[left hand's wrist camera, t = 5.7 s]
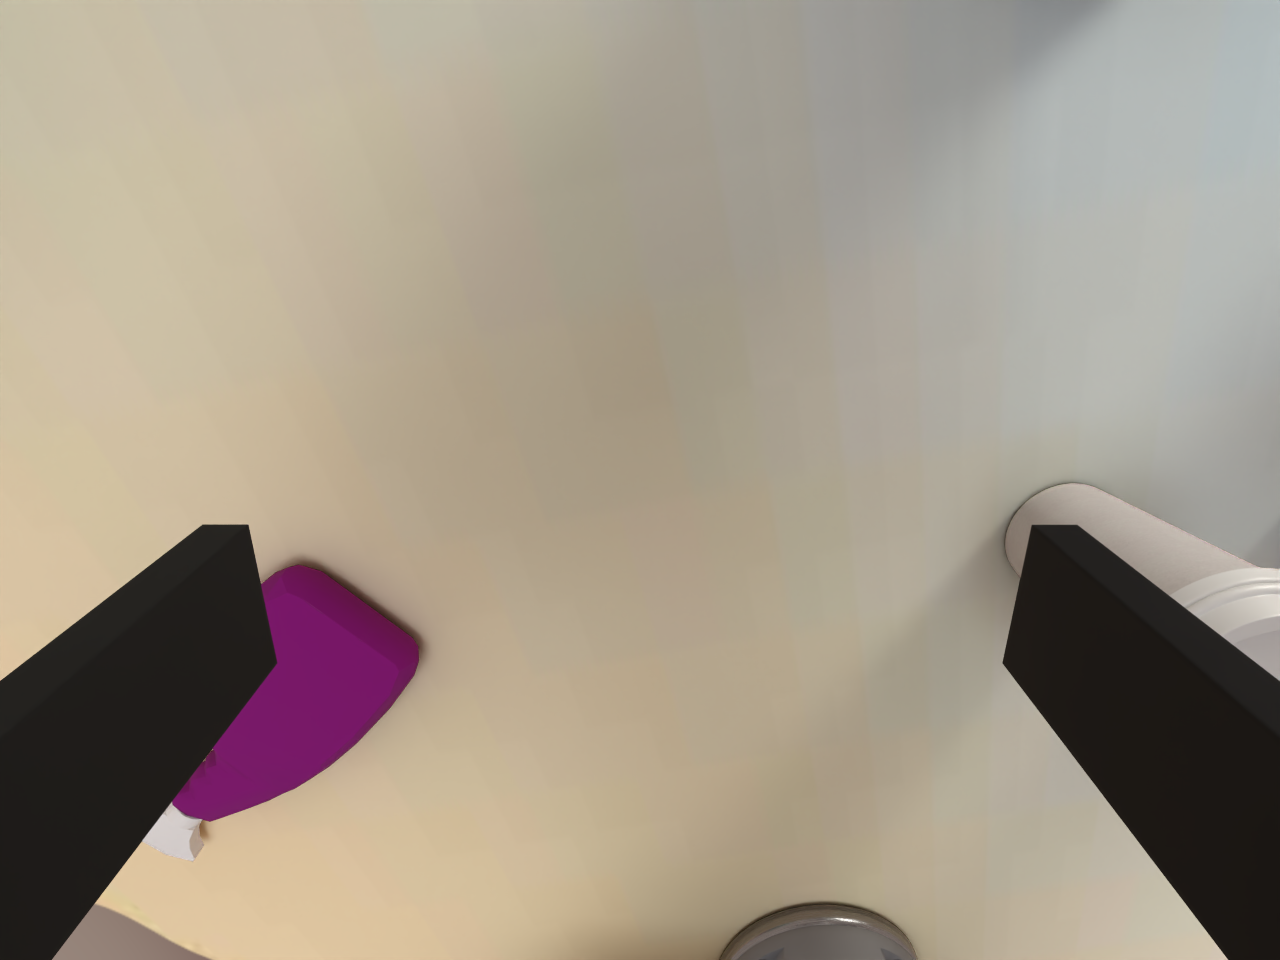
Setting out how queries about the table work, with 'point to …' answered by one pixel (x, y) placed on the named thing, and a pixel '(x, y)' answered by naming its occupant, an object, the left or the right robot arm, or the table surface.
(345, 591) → the spray bottle
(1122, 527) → the coffee cup
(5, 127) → the table surface
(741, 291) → the table surface
